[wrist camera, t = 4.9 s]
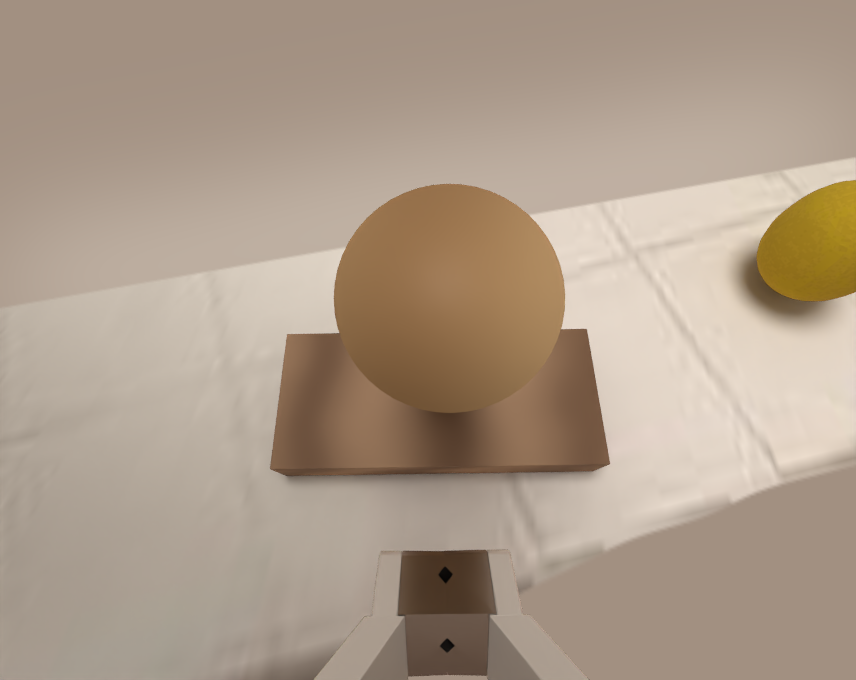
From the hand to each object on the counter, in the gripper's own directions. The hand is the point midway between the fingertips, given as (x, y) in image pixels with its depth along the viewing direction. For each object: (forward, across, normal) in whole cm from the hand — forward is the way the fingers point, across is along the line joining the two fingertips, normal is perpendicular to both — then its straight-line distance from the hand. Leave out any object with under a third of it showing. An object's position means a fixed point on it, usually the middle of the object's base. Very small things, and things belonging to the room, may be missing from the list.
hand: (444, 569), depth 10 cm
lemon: (+19, -21, -2) cm, 29 cm away
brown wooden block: (+14, 0, +4) cm, 14 cm away
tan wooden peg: (+13, 0, 0) cm, 13 cm away
